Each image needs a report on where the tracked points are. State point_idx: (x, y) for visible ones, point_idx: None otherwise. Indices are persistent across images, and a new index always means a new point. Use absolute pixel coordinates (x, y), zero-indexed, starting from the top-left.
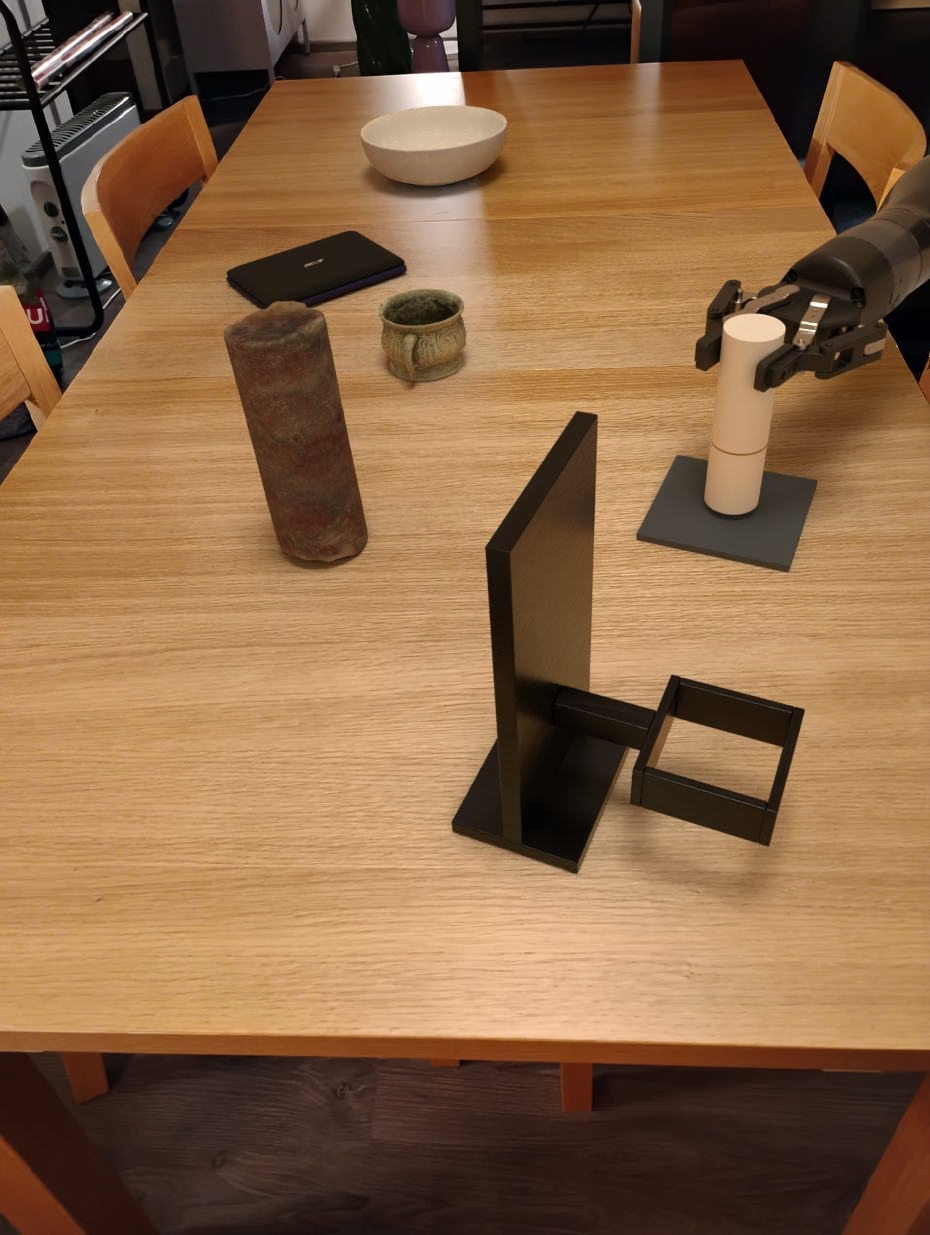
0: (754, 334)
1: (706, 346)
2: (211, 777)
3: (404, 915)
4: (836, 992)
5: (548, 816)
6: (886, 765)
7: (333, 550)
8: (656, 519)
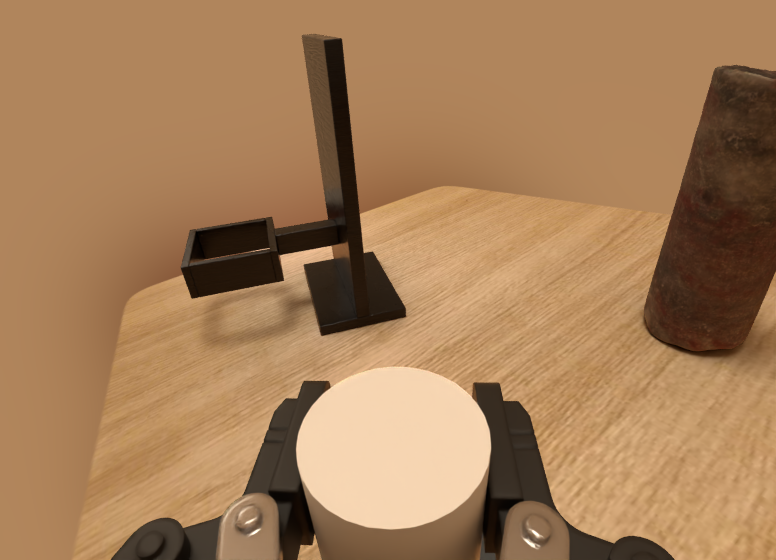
0: (371, 402)
1: (474, 382)
2: (493, 228)
3: (362, 237)
4: (167, 291)
5: (331, 270)
6: (132, 399)
7: (646, 302)
8: (482, 554)
